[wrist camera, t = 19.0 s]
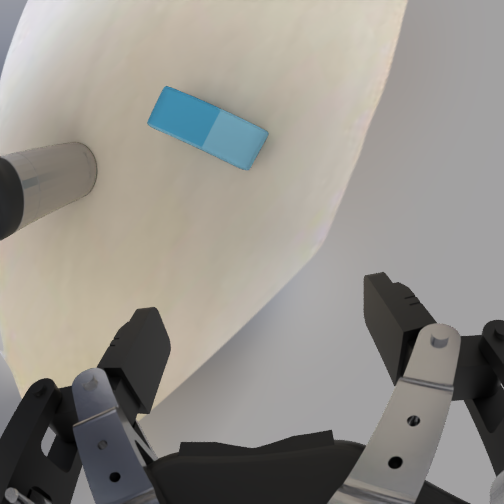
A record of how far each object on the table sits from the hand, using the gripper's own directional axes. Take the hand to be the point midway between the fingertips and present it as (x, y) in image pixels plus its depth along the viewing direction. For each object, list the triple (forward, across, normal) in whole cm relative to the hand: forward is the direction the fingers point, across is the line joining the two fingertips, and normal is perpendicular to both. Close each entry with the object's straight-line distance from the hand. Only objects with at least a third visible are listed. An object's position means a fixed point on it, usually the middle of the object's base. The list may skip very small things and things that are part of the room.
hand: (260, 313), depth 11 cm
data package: (+32, +4, -8) cm, 34 cm away
